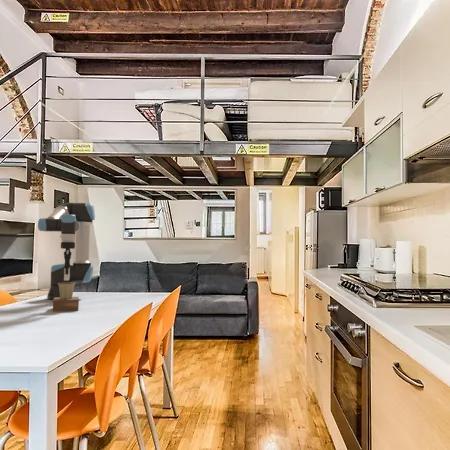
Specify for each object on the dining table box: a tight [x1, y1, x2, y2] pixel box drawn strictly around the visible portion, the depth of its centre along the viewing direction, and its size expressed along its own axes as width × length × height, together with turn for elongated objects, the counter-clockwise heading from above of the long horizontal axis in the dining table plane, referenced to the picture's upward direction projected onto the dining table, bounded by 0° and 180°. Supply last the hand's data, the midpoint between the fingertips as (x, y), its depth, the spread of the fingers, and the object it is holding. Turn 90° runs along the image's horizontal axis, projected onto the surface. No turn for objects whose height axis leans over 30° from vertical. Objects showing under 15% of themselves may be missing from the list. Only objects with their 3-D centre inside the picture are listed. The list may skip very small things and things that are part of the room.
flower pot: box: [58, 282, 77, 299], centre depth 224 cm, size 9×9×9 cm
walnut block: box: [52, 296, 80, 313], centre depth 224 cm, size 13×13×6 cm
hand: (66, 279), depth 224 cm, fingers open, 13 cm apart
